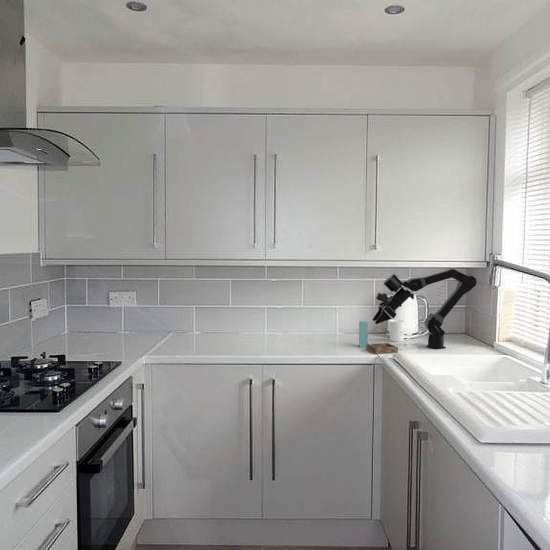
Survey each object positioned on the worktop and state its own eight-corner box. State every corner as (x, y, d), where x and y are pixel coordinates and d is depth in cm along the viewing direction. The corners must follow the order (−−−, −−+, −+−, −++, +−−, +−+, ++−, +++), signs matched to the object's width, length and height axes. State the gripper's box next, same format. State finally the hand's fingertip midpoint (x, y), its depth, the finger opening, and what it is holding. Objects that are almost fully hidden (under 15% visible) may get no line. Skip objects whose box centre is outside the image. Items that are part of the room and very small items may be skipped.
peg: (366, 345, 249) (366, 321, 248) (367, 347, 245) (367, 322, 244) (359, 345, 249) (359, 321, 249) (359, 347, 245) (360, 322, 244)
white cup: (404, 339, 265) (405, 320, 265) (404, 342, 258) (404, 322, 257) (389, 338, 267) (389, 319, 267) (388, 341, 260) (388, 321, 259)
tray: (387, 348, 244) (387, 343, 244) (397, 352, 234) (398, 347, 234) (366, 349, 241) (366, 344, 241) (375, 354, 231) (375, 348, 231)
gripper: (383, 285, 254) (360, 307, 255) (389, 288, 235) (364, 312, 237) (399, 301, 254) (376, 323, 255) (406, 306, 235) (381, 329, 237)
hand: (374, 321), depth 246 cm, fingers open, 9 cm apart
